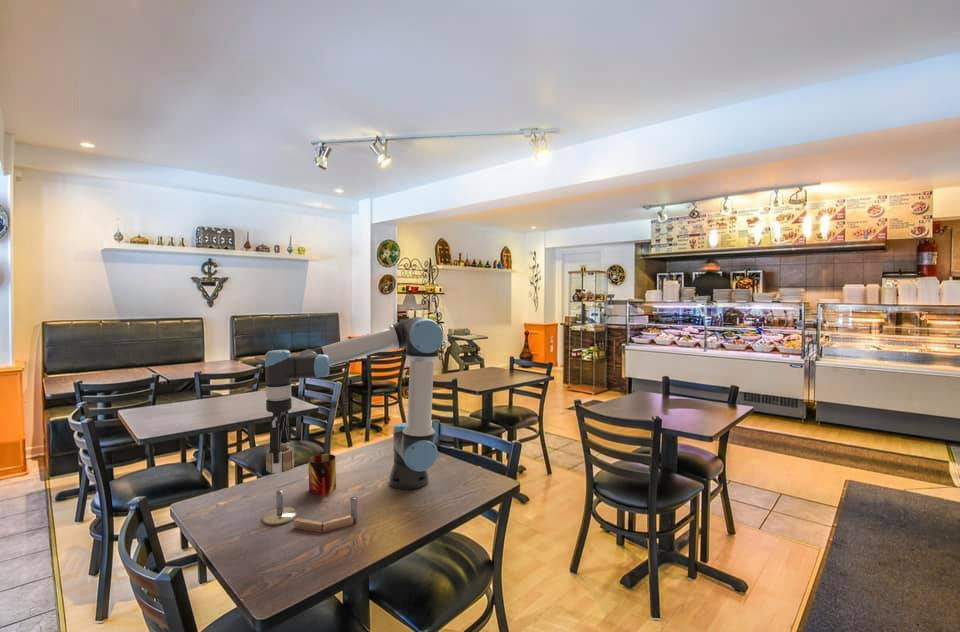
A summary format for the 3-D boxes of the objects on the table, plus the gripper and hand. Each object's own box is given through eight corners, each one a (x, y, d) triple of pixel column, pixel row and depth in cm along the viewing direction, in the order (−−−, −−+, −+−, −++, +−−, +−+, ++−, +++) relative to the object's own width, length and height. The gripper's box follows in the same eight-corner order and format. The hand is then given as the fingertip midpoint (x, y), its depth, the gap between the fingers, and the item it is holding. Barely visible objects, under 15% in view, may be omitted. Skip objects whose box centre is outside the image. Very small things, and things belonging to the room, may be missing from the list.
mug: (323, 501, 168) (322, 468, 167) (304, 490, 177) (303, 458, 176) (347, 492, 175) (346, 460, 174) (327, 482, 184) (327, 452, 184)
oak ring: (296, 463, 158) (295, 445, 158) (290, 472, 150) (290, 453, 150) (270, 464, 157) (270, 446, 156) (263, 473, 149) (263, 454, 149)
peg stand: (299, 509, 161) (298, 483, 161) (292, 524, 151) (291, 496, 151) (268, 511, 160) (267, 485, 159) (259, 526, 150) (258, 498, 149)
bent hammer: (357, 520, 153) (357, 496, 153) (355, 529, 147) (355, 504, 147) (295, 525, 150) (294, 500, 150) (290, 534, 145) (289, 509, 144)
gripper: (275, 391, 162) (276, 456, 163) (256, 406, 141) (258, 480, 143) (298, 390, 163) (299, 455, 164) (283, 405, 143) (284, 479, 144)
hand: (280, 467), depth 153 cm, fingers closed on oak ring, 8 cm apart
